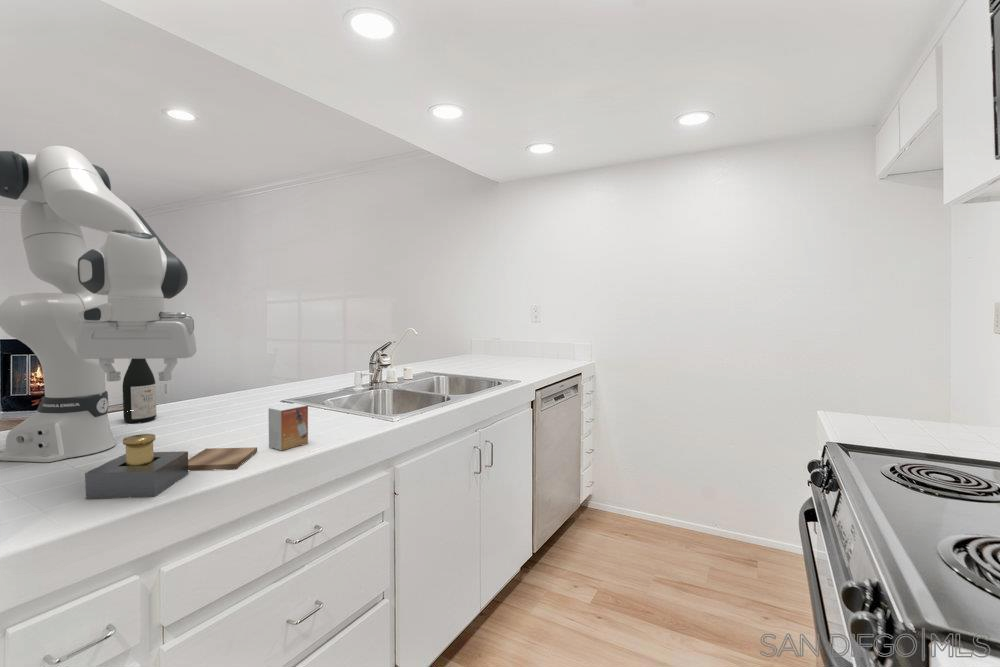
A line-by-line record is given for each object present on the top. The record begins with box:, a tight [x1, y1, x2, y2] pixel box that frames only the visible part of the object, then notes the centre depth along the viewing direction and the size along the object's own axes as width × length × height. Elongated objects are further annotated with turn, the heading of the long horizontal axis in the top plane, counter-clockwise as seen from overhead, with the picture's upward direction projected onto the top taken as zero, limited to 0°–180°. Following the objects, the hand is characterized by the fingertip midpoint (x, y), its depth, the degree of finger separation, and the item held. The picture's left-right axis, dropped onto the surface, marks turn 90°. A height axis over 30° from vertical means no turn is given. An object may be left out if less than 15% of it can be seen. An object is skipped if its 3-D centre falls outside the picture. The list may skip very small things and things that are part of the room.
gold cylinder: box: [122, 433, 156, 466], centre depth 93 cm, size 5×5×10 cm
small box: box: [268, 402, 309, 451], centre depth 121 cm, size 8×6×10 cm
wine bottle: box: [122, 359, 157, 424], centre depth 142 cm, size 8×8×30 cm
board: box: [188, 446, 258, 471], centre depth 108 cm, size 12×12×1 cm
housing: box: [84, 450, 190, 500], centre depth 93 cm, size 12×12×5 cm
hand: (139, 380), depth 92 cm, fingers open, 8 cm apart
